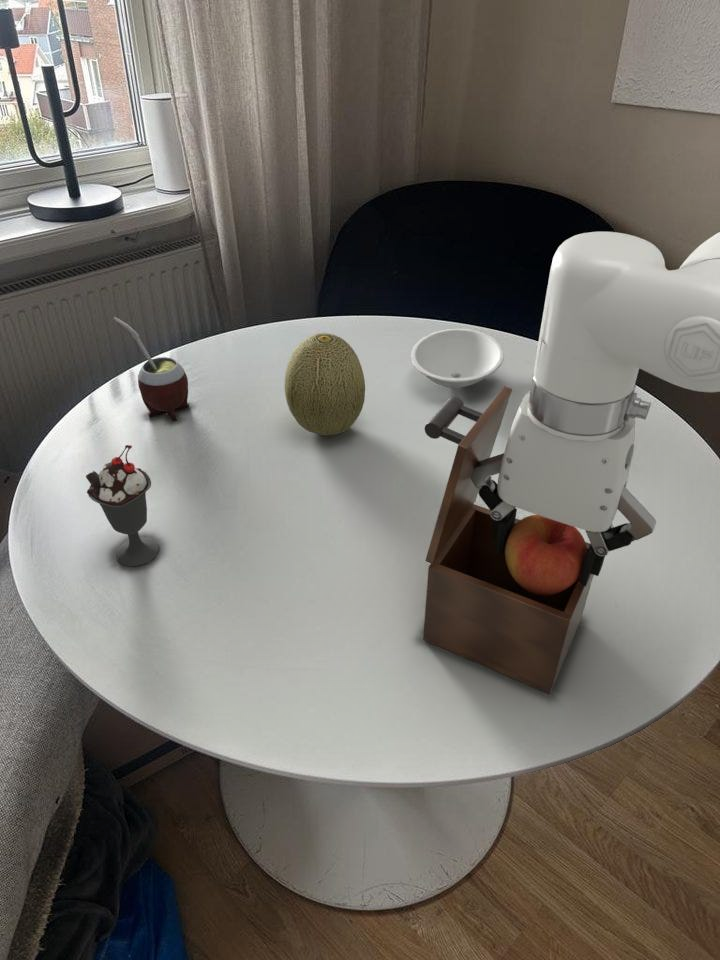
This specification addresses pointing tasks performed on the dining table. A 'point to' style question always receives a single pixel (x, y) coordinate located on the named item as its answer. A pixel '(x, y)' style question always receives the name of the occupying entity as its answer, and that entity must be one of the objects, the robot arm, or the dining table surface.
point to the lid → (463, 461)
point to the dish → (457, 356)
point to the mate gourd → (161, 383)
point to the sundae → (125, 507)
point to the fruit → (324, 384)
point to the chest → (498, 609)
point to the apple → (544, 554)
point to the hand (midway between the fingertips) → (543, 559)
